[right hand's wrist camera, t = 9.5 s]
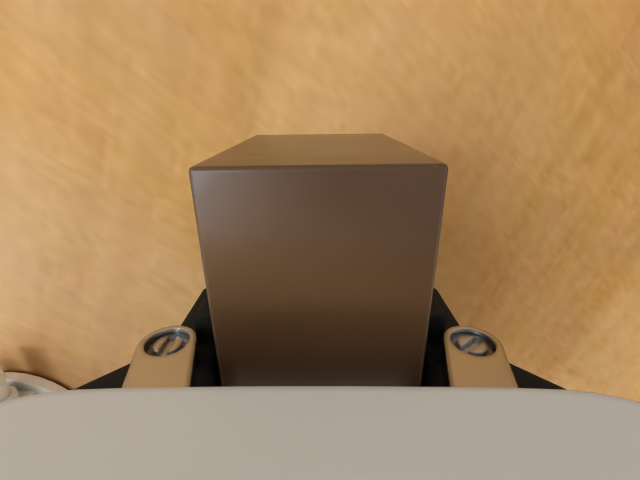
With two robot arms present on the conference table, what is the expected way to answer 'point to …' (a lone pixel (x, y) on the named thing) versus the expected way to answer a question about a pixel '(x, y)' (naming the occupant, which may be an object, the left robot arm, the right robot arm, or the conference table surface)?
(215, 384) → the right robot arm
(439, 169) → the bar
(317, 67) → the conference table surface
